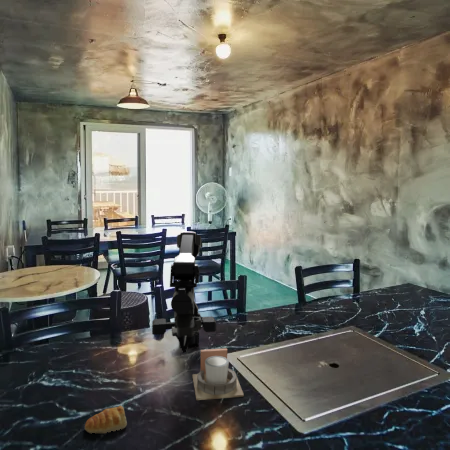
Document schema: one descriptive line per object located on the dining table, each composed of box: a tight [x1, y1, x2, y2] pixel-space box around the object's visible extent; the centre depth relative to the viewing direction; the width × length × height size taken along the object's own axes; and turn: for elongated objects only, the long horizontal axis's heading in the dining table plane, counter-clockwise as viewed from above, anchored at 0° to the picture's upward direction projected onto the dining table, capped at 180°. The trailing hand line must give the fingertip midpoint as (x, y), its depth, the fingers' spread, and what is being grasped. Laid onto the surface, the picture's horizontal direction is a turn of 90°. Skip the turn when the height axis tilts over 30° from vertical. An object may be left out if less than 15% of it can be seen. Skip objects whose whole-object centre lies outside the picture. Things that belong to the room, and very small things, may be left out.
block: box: [200, 348, 228, 374], centre depth 115 cm, size 8×1×7 cm, turn 100°
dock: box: [191, 367, 245, 401], centre depth 109 cm, size 13×13×3 cm
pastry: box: [84, 405, 128, 434], centre depth 91 cm, size 9×7×4 cm
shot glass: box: [205, 356, 230, 384], centre depth 109 cm, size 7×7×7 cm
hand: (184, 352), depth 114 cm, fingers closed
